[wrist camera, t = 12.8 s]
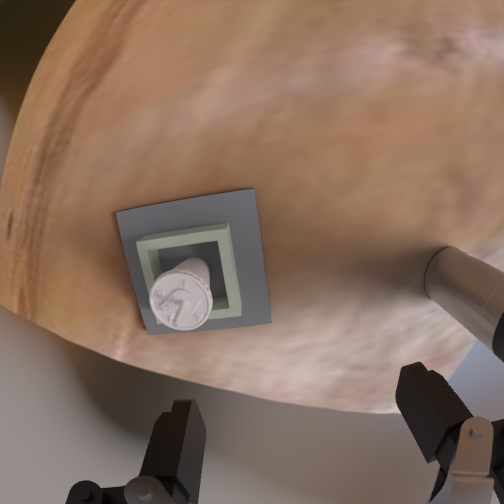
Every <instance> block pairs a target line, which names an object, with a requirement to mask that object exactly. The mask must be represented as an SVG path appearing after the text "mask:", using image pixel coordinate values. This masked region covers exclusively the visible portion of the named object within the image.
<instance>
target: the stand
mask: <svg viewBox="0 0 504 504" xmlns="http://www.w3.org/2000/svg"><path fill="white" fill-rule="evenodd" d="M116 216H117V221H118V226H119V231H120V235H121V240H122V244H123V249H124V253H125V257H126V261H127V265H128V269H129V273H130V276H131V280H132V284H133V287H134V291H135V294H136V298H137V301H138V304H139V308H140V311H141V314H142V317H143V320H144V323H145V327H146V330H147V333H148V335H151V334H167V333H181V332H194V331H205V330H216V329H226V328H235V327H244V326H252V325H260V324H268V323H272V321H271V313H270V305H269V297H268V289H267V281H266V273H265V265H264V257H263V250H262V242H261V234H260V227H259V219H258V212H257V204H256V197H255V190H254V188H251V189H244V190H237V191H230V192H223V193H217V194H210V195H204V196H198V197H192V198H186V199H180V200H175V201H169V202H164V203H158V204H153V205H148V206H143V207H138V208H133V209H128V210H123V211H119V212H116ZM191 256H198V257H201V258H203V259H204V260H205V261H206V262H207V263H208V265H209V269H210V291H211V294H212V299H213V302H212V309H211V311H210V314H209V317H208V318H207V320H206V321H205V322H204V323H203V324H202V325H201V326H199V327H197V328H195V329H192V330H176V329H173V328H170V327H168V326H166V325H164V324H163V323H162V322H160V321H159V320H158V319H157V317H156V316H155V315H154V313H153V311H152V309H151V307H150V302H149V294H150V290H151V287H152V286H153V284H154V282H155V280H156V279H157V278H158V277H159V276H160V275H161V274H163V273H165V272H167V271H169V270H173V269H174V268H175V267H176V266H178V265H179V264H180V263H182V262H183V261H184V260H185V259H187V258H189V257H191Z"/></svg>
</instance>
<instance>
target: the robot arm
mask: <svg viewBox="0 0 504 504" xmlns="http://www.w3.org/2000/svg"><path fill="white" fill-rule="evenodd" d="M425 290H426V292H427V294H428V296H429V297H430V298H431V299H432V300H434V301H435V302H436V303H437V304H438V305H440V306H441V307H442V308H443V309H444V310H445V311H447V312H448V313H449V314H450V315H451V316H452V317H454V318H455V319H456V320H457V321H458V322H459V323H461V324H462V325H463V326H464V327H465V328H466V329H467V330H469V331H470V332H471V333H472V334H473V335H474V336H475V337H476V338H477V339H479V340H480V341H481V342H482V343H483V344H484V345H485V346H487V347H488V348H489V349H490V350H491V351H492V352H493V353H494V354H495V355H496V356H497V357H498V358H499V359H501V360H502V361H503V362H504V272H502V271H500V270H498V269H496V268H495V267H493V266H491V265H489V264H487V263H485V262H483V261H481V260H479V259H477V258H475V257H473V256H471V255H469V254H467V253H465V252H463V251H461V250H459V249H457V248H454V247H447V248H445V249H443V250H441V251H440V252H438V253H437V254H436V255H435V256H434V258H433V259H432V260H431V262H430V264H429V266H428V268H427V271H426V275H425ZM395 397H396V403H397V406H398V408H399V410H400V412H401V414H402V415H403V417H404V419H405V421H406V423H407V425H408V427H409V429H410V430H411V432H412V434H413V436H414V438H415V440H416V442H417V444H418V446H419V447H420V449H421V452H422V453H423V455H424V457H425V459H426V461H427V463H430V462H433V461H435V460H438V462H439V465H438V468H437V471H436V474H435V477H434V481H433V484H432V487H431V490H430V493H429V496H428V498H427V501H426V504H490V502H491V497H492V492H493V489H494V491H495V493H496V495H497V497H498V499H499V501H500V504H504V419H502V420H498V421H493V422H490V421H489V420H487V419H485V418H483V417H474V416H473V415H472V414H471V413H470V411H469V410H468V409H467V407H466V406H465V405H464V403H463V402H462V401H461V399H460V398H459V397H458V395H457V394H456V393H455V392H454V390H453V389H452V388H451V386H449V384H448V382H447V381H446V380H445V379H444V377H443V376H442V375H440V374H439V373H437V372H435V371H433V370H430V371H428V370H427V369H426V368H425V366H424V365H423V364H422V363H421V362H416V363H413V364H410V365H406V366H403V367H402V368H401V371H400V376H399V381H398V385H397V389H396V395H395ZM205 441H206V428H205V424H204V421H203V418H202V416H201V413H200V410H199V408H198V405H197V403H196V401H195V400H194V399H183V400H182V399H181V400H175V401H174V403H173V406H172V410H171V412H163V413H162V414H161V416H160V417H159V418H158V419H157V420H156V422H155V424H154V428H153V431H152V434H151V437H150V443H149V444H148V447H147V450H146V454H145V457H144V461H143V464H142V467H141V471H140V474H139V475H138V477H135V478H133V479H132V480H130V481H129V482H128V483H127V484H126V485H125V486H120V487H110V488H100V487H99V486H98V485H97V484H96V483H94V482H92V481H87V480H86V481H80V482H78V483H76V484H74V485H73V487H72V488H71V489H70V492H69V495H68V497H67V500H66V503H65V504H198V497H199V489H200V481H201V473H202V465H203V457H204V449H205Z"/></svg>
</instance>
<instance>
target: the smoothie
mask: <svg viewBox="0 0 504 504" xmlns="http://www.w3.org/2000/svg"><path fill="white" fill-rule="evenodd" d="M149 302H150V307H151V309H152V311H153V313H154V315H155V316H156V317H157V319H158V320H159V321H160V322H162V323H163V324H164V325H166V326H168V327H170V328H173V329H176V330H192V329H195V328H197V327H199V326H201V325H202V324H203V323H204V322H205V321H206V320H207V318H208V317H209V314H210V311H211V309H212V302H213V299H212V294H211V291H210V269H209V265H208V263H207V262H206V261H205V260H204V259H203V258H201V257H198V256H191V257H189V258H187V259H185V260H184V261H183V262H182V263H180V264H179V265H178V266H176V267H175V268H174V269H173V270H169V271H167V272H165V273H163V274H161V275H160V276H159V277H158V278H157V279H156V280H155V282H154V284H153V286H152V287H151V290H150V294H149Z"/></svg>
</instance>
